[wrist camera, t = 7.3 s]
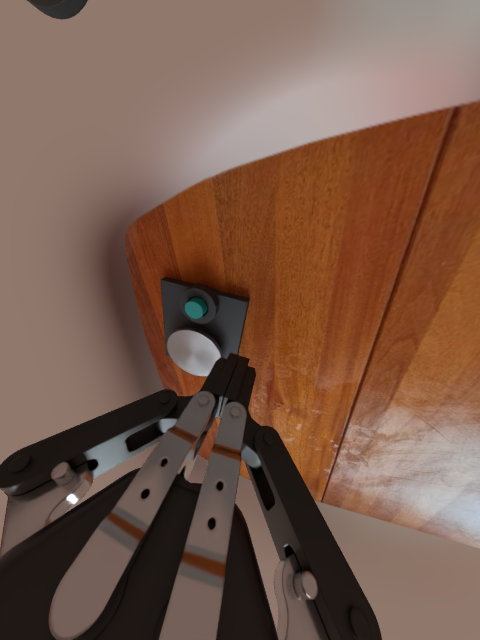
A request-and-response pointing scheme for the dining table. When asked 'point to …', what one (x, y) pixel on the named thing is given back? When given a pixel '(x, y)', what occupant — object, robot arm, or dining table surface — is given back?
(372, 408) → the dining table surface
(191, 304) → the button
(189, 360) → the scale pan
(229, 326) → the scale
